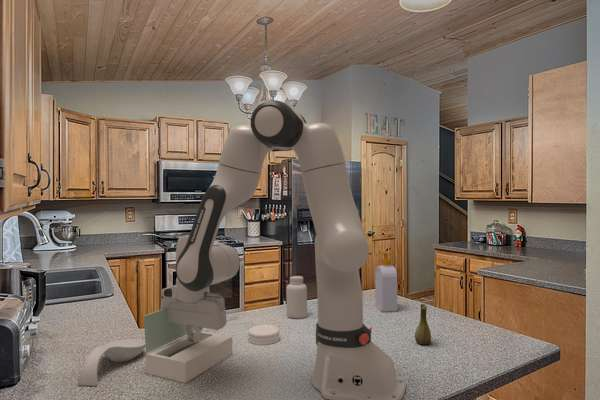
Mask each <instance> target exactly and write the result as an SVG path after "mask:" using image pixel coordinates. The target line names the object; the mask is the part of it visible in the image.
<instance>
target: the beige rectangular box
mask: <svg viewBox="0 0 600 400" xmlns="http://www.w3.org/2000/svg"><path fill="white" fill-rule="evenodd" d="M193 333H195V331H194V332H193ZM192 343H194V342H192V341H187V335H185V336H183V337H181V338H179V339H176V340H174V341H172V342H170V343H168V344H166V345H163V346H161V347H159V348H157V349H155V350H153V351H151V352H147V353H146V354H145V370H146V371H145V372H146V373H145V374H146V375H151V376H155V377H159V378H163V379H167V380H172V381H175V382H179V383H183V384H187V383H189V382H190V381H191V380H193V379H194V378H196V377H198V376H199V375H200V374H202V373H204V372H205V371H207V370H209V369H211V368H212V367H213V366H215V365H217V364H218V363H220V362H222V361H223V360H225V359H227V358H228V357H230V356H231V355H232V354H233V336H231V335H225V334H219V333H215V332H213V333H212V332H209V331H206V332H205V331H203V330H202V331H201V333H200V334H199V342H198V343H196V344H194V345H193V346H191V347H189V348H187V349H185V350H183V351H181V352H179V353H177V354H175V355H173V356H171V357H167V356H169V355H171V354H173V353H175V352H176V351H178V350H180V349H182V348H184V347H186V346H188V345H190V344H192Z"/></svg>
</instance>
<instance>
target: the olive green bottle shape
mask: <svg viewBox="0 0 600 400" xmlns="http://www.w3.org/2000/svg"><path fill="white" fill-rule="evenodd" d="M427 308H428V307H427V306H426V303H421V304H420V318H419V319H420V320H419V323H418V325H417V327H416V330H415V332H414V340H415V341H416V342H417V344H419V345H428V344H430V343H431V342H432V333H431V329H430V327H429V323H428V321H427V310H428V309H427Z"/></svg>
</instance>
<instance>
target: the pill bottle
mask: <svg viewBox="0 0 600 400" xmlns="http://www.w3.org/2000/svg"><path fill="white" fill-rule="evenodd" d="M285 290H286V291H285V293H286V297H285V298H286V317H287V318H289V319H294V320H296V319H302V318H303V319H304V318H306V317H308V287H307V285H306V284H305V283H304V277H303V276H302V275H292V276H290V277H289V284H287V285H286V287H285Z"/></svg>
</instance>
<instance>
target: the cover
mask: <svg viewBox="0 0 600 400" xmlns="http://www.w3.org/2000/svg"><path fill="white" fill-rule="evenodd" d="M143 325H144V329H143V330H144V341H145V343H146V346H145V352H146V353H150V352H152V351H154V350H156V349H158V348H161V347H163V346H165V345H167V344H169V343H171V342H173V341H176V340H178V339H180V338H182V337H184V336H186V333H185V331H184V329H183V324H177V323H171V322H168V311H167V308H164V309H161V308H160V309H158V310H155V311H153V312H150V313H148V314H145V315H143ZM191 329H192V331H193V332H195V331H196V330H194V326H192V327H191Z"/></svg>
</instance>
